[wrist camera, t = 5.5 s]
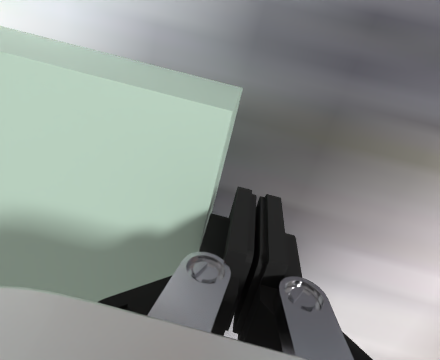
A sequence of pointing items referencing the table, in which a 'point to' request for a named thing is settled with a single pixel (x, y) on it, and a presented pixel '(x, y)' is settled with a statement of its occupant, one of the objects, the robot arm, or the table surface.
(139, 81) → the green block
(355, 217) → the table surface
